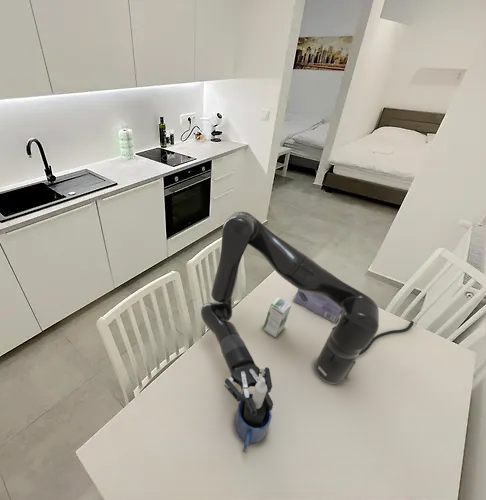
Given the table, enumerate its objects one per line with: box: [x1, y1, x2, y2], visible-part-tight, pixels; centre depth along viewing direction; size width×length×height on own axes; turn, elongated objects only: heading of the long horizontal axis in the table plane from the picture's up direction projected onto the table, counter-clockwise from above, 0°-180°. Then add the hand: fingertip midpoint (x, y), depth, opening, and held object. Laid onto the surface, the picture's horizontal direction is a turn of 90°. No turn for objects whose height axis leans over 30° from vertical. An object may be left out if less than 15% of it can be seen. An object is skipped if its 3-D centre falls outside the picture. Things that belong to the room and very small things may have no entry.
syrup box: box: [263, 297, 292, 338], centre depth 107 cm, size 6×6×14 cm
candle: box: [241, 378, 267, 428], centre depth 76 cm, size 5×5×25 cm
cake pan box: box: [293, 282, 355, 324], centre depth 115 cm, size 19×5×18 cm, turn 49°
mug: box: [234, 401, 273, 454], centre depth 80 cm, size 12×9×10 cm
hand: (263, 411), depth 72 cm, fingers open, 3 cm apart
